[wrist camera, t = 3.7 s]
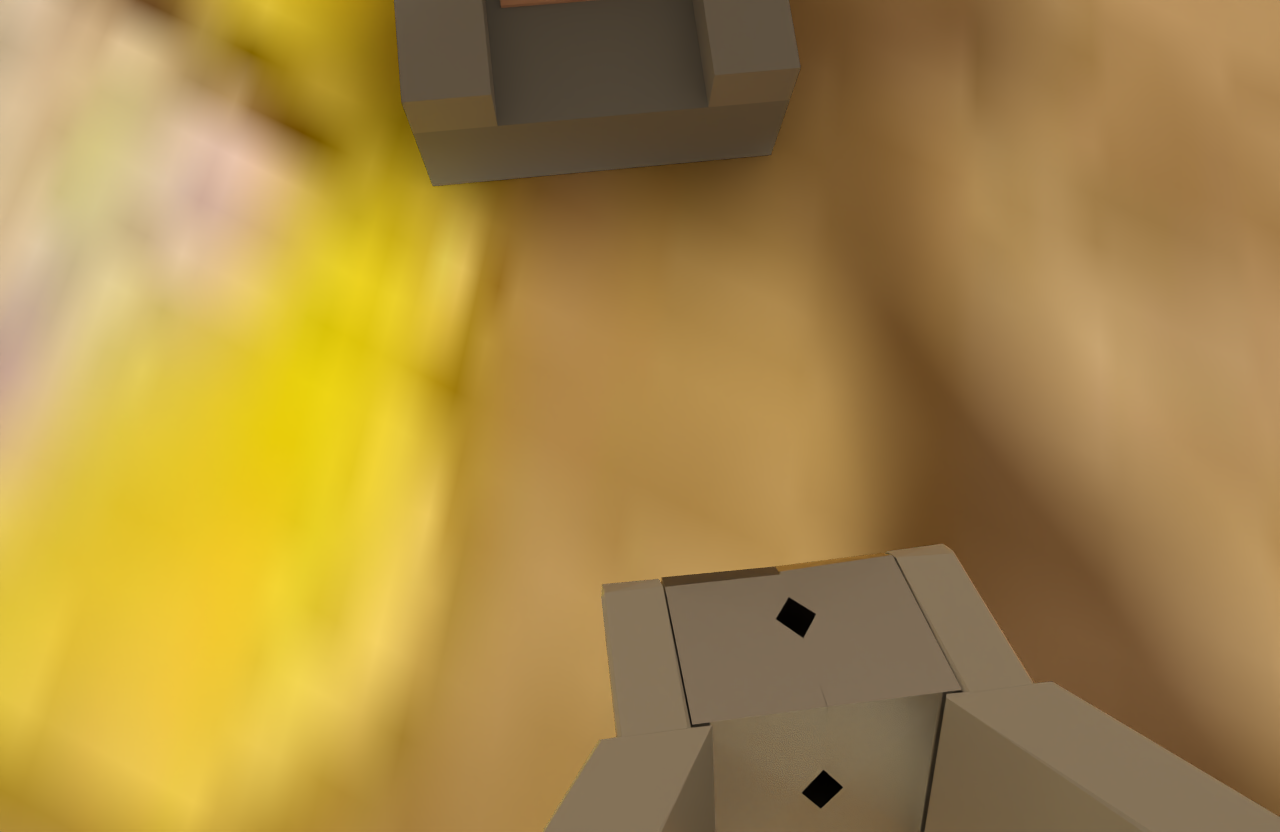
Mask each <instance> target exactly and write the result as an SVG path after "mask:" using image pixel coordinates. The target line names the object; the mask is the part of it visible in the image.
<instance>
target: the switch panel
mask: <svg viewBox="0 0 1280 832" xmlns="http://www.w3.org/2000/svg"><path fill="white" fill-rule="evenodd" d="M394 5H395V19H396V33H397V47H398V61H399V74H400V88H401V102H402V105H403V108H404V110H405V113H406V116H407V118H408V121H409V124H410V126H411V129H412V132H413V135H414V137H415V140H416V143H417V145H418V148H419V151H420V153H421V156H422V159H423V161H424V164H425V167H426V169H427V172H428V175H429V177H430V180H431V183H432V185H433V186H439V185H450V184H461V183H472V182H483V181H493V180H504V179H515V178H526V177H537V176H547V175H558V174H569V173H580V172H591V171H602V170H612V169H623V168H634V167H645V166H656V165H666V164H677V163H688V162H699V161H710V160H721V159H731V158H742V157H753V156H764V155H771V153H772V150H773V147H774V144H775V141H776V138H777V135H778V132H779V130H780V127H781V124H782V121H783V118H784V115H785V112H786V109H787V106H788V103H789V100H790V98H791V95H792V92H793V89H794V86H795V83H796V80H797V77H798V74H799V71H800V68H801V66H800V61H799V55H798V49H797V44H796V38H795V32H794V26H793V21H792V15H791V9H790V4H789V0H394Z"/></svg>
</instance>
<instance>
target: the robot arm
mask: <svg viewBox="0 0 1280 832" xmlns="http://www.w3.org/2000/svg"><path fill="white" fill-rule="evenodd" d="M601 598H602V608H603V617H604V627H605V636H606V646H607V655H608V665H609V674H610V684H611V693H612V703H613V712H614V722H615V731H616V737H615V738H609V739H602V740H599V741H598V742H597V744H596V745H595V747H594V749H593V750H592V752H591V754H590V755H589V757H588V758H587V760H586V762H585V763H584V765H583V767H582V768H581V770H580V771H579V773H578V775H577V776H576V778H575V780H574V781H573V783H572V784H571V786H570V788H569V789H568V791H567V793H566V794H565V796H564V797H563V799H562V801H561V802H560V804H559V806H558V807H557V809H556V810H555V812H554V814H553V815H552V817H551V819H550V820H549V822H548V823H547V825H546V827H545V828H544V830H543V832H1280V817H1279V816H1277V815H1276V814H1274V813H1272V812H1271V811H1269V810H1267V809H1266V808H1264V807H1262V806H1261V805H1259V804H1257V803H1255V802H1254V801H1252V800H1250V799H1249V798H1247V797H1245V796H1244V795H1242V794H1240V793H1239V792H1237V791H1235V790H1234V789H1232V788H1230V787H1229V786H1227V785H1225V784H1224V783H1222V782H1220V781H1219V780H1217V779H1215V778H1214V777H1212V776H1210V775H1209V774H1207V773H1205V772H1204V771H1202V770H1200V769H1199V768H1197V767H1195V766H1193V765H1192V764H1190V763H1188V762H1187V761H1185V760H1183V759H1182V758H1180V757H1178V756H1177V755H1175V754H1173V753H1172V752H1170V751H1168V750H1167V749H1165V748H1163V747H1162V746H1160V745H1158V744H1157V743H1155V742H1153V741H1152V740H1150V739H1148V738H1147V737H1145V736H1143V735H1142V734H1140V733H1138V732H1137V731H1135V730H1133V729H1131V728H1130V727H1128V726H1126V725H1125V724H1123V723H1121V722H1120V721H1118V720H1116V719H1115V718H1113V717H1111V716H1110V715H1108V714H1106V713H1105V712H1103V711H1101V710H1100V709H1098V708H1096V707H1095V706H1093V705H1091V704H1090V703H1088V702H1086V701H1085V700H1083V699H1081V698H1080V697H1078V696H1076V695H1075V694H1073V693H1071V692H1069V691H1068V690H1066V689H1064V688H1063V687H1061V686H1059V685H1058V684H1056V683H1054V682H1053V681H1051V682H1041V683H1034V682H1033V681H1032V679H1031V677H1030V676H1029V674H1028V672H1027V671H1026V669H1025V667H1024V666H1023V664H1022V663H1021V661H1020V659H1019V658H1018V656H1017V654H1016V653H1015V651H1014V649H1013V648H1012V646H1011V645H1010V643H1009V641H1008V640H1007V638H1006V636H1005V635H1004V633H1003V631H1002V630H1001V628H1000V626H999V625H998V623H997V622H996V620H995V618H994V617H993V615H992V613H991V612H990V610H989V608H988V607H987V605H986V604H985V602H984V600H983V599H982V597H981V595H980V594H979V592H978V590H977V589H976V587H975V586H974V584H973V582H972V581H971V579H970V577H969V576H968V574H967V572H966V571H965V569H964V568H963V566H962V564H961V563H960V561H959V559H958V558H957V556H956V554H955V553H954V551H953V550H952V549H950V548H949V547H947V546H946V545H944V544H936V545H929V546H922V547H915V548H907V549H900V550H893V551H887V552H886V553H885V554H884V553H877V554H869V555H861V556H853V557H845V558H837V559H829V560H822V561H814V562H806V563H798V564H790V565H782V566H774V567H766V568H755V569H745V570H735V571H724V572H714V573H703V574H693V575H683V576H672V577H662V578H661V582H660V580H659V579H653V580H643V581H632V582H621V583H611V584H602V595H601Z"/></svg>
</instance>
